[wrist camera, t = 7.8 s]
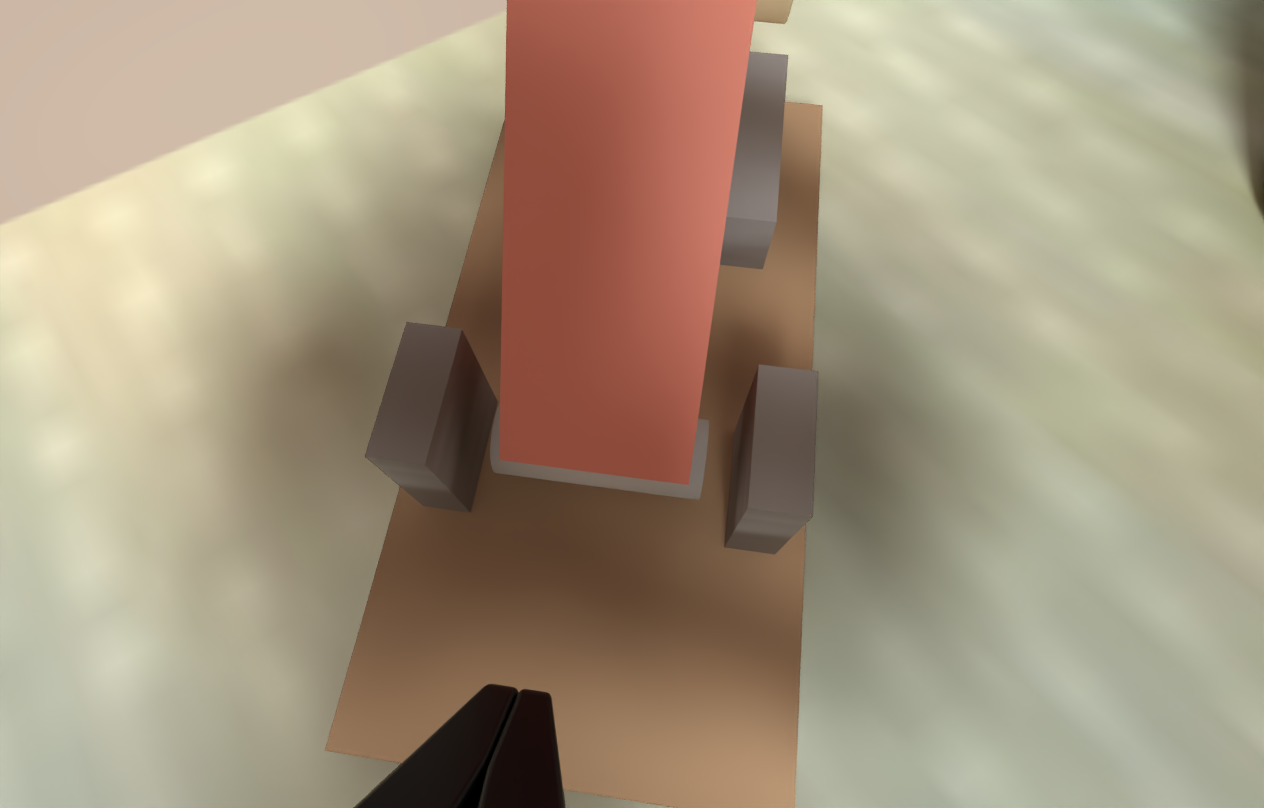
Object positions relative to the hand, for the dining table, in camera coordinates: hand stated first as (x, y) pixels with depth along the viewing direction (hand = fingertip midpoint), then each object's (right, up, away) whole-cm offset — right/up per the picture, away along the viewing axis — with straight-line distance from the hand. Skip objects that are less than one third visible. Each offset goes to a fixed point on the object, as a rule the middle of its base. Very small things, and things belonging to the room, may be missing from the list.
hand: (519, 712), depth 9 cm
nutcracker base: (+1, +5, +10) cm, 11 cm away
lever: (+1, +3, +6) cm, 7 cm away
